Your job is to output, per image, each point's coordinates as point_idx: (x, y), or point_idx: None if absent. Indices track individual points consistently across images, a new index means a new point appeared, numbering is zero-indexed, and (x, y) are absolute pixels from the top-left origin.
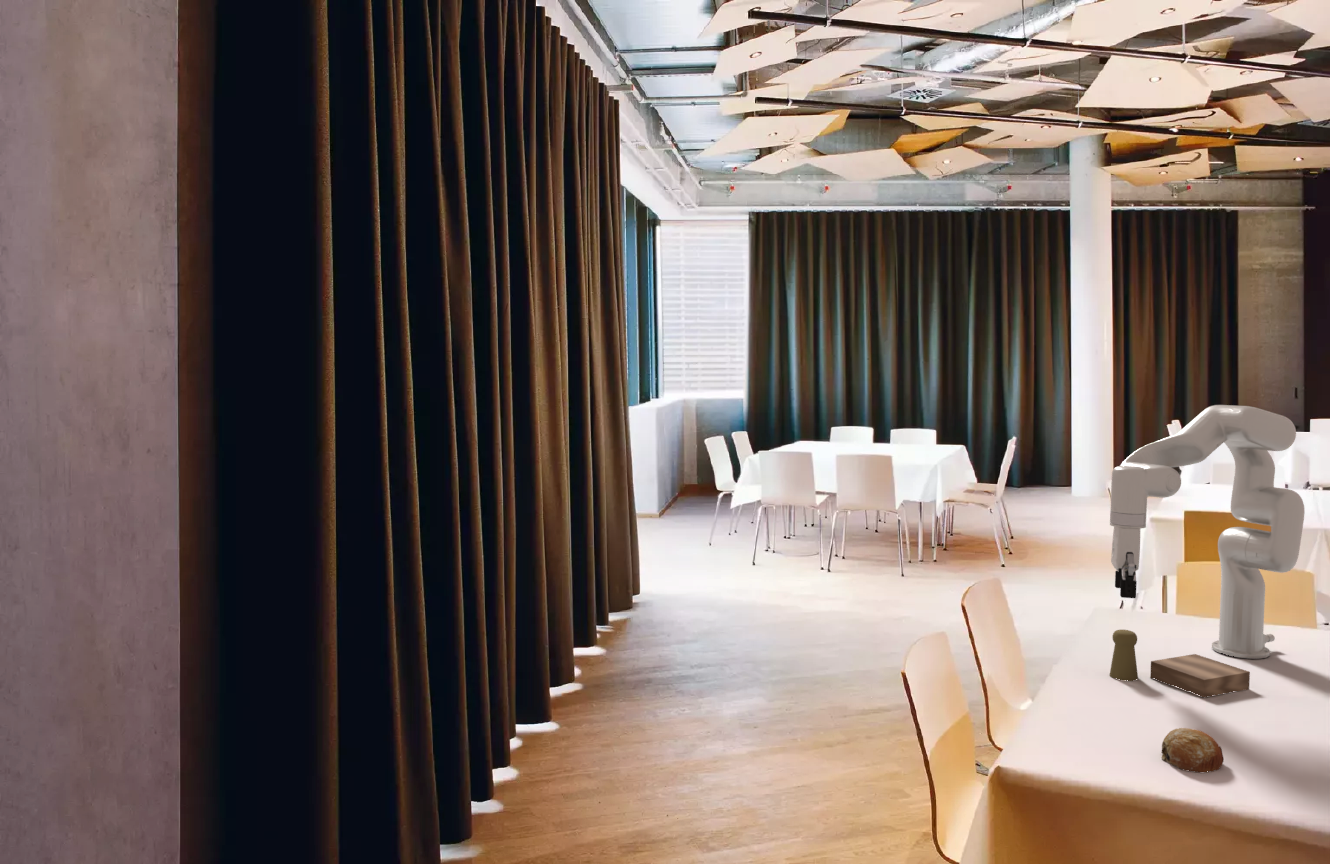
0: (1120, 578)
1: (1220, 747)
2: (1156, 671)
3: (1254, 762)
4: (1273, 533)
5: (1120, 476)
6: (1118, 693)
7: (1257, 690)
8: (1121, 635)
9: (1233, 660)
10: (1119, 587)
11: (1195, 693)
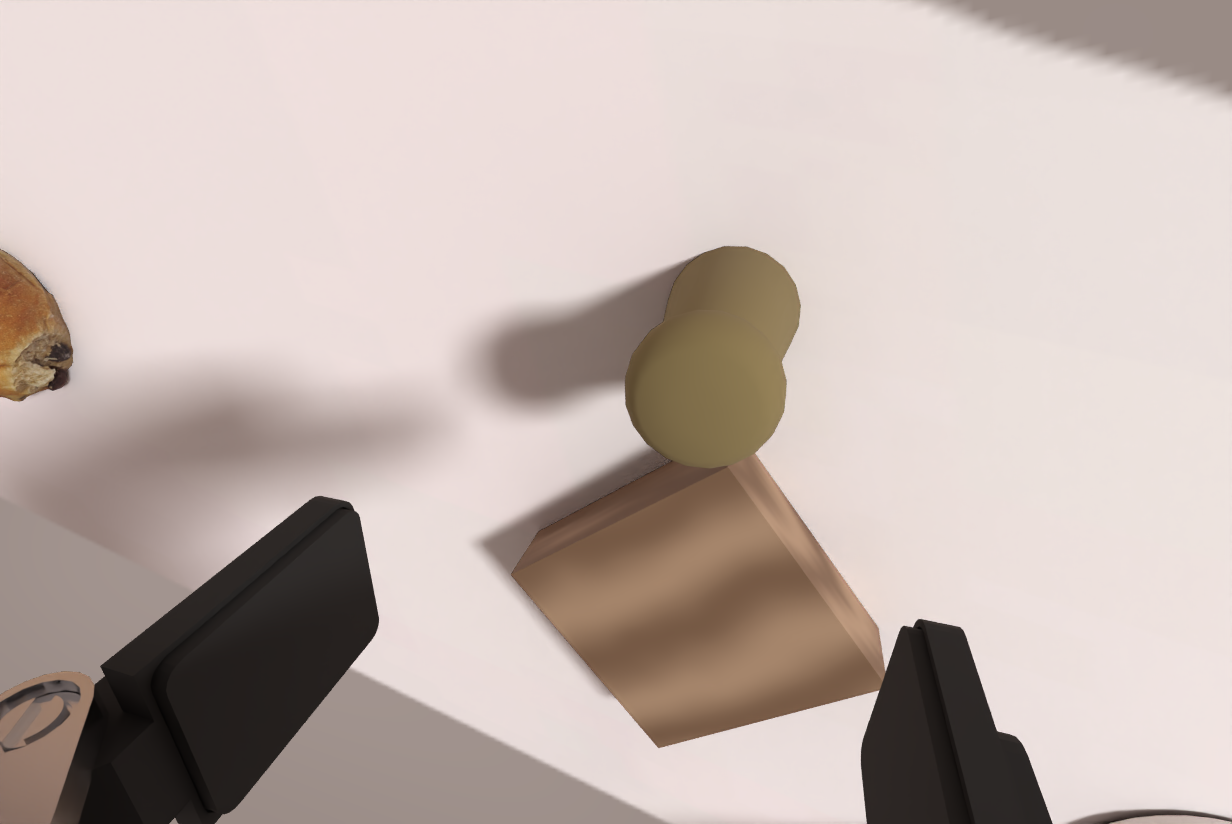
0: (913, 814)
1: (17, 400)
2: None
3: (105, 460)
4: None
5: None
6: (483, 233)
7: None
8: (637, 366)
9: None
10: (890, 660)
11: (561, 521)
